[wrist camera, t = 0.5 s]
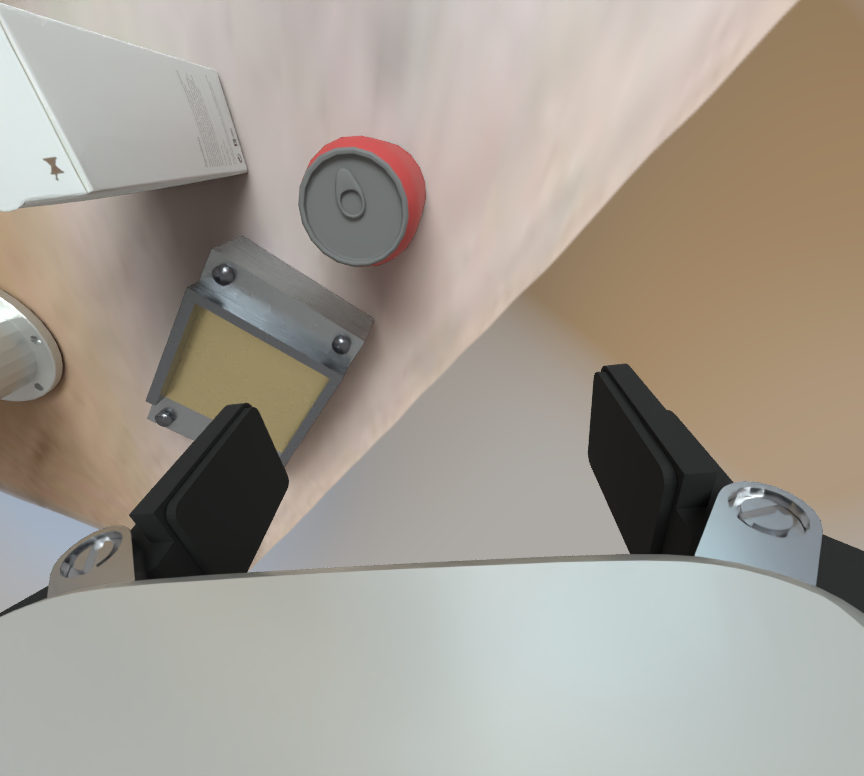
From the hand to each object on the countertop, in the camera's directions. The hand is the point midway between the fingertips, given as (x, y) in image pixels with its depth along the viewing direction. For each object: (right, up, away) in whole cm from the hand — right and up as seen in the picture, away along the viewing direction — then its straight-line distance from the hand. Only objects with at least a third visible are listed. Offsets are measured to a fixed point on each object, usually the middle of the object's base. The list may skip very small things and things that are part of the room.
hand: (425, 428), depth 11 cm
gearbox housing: (-15, +4, +26) cm, 31 cm away
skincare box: (-18, +20, +18) cm, 32 cm away
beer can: (-4, +16, +19) cm, 25 cm away
